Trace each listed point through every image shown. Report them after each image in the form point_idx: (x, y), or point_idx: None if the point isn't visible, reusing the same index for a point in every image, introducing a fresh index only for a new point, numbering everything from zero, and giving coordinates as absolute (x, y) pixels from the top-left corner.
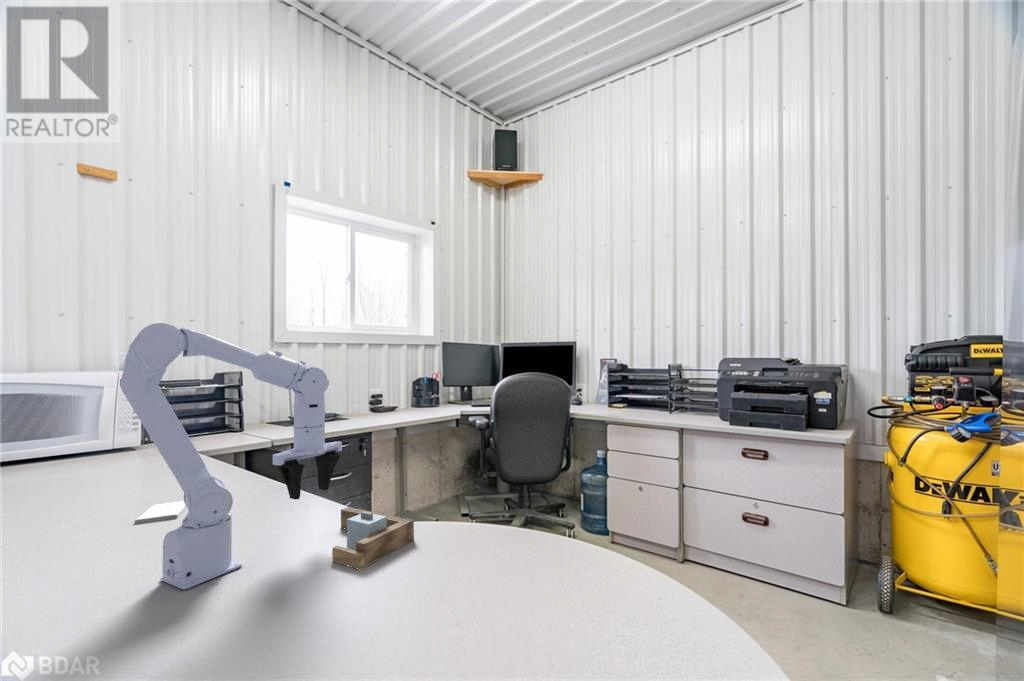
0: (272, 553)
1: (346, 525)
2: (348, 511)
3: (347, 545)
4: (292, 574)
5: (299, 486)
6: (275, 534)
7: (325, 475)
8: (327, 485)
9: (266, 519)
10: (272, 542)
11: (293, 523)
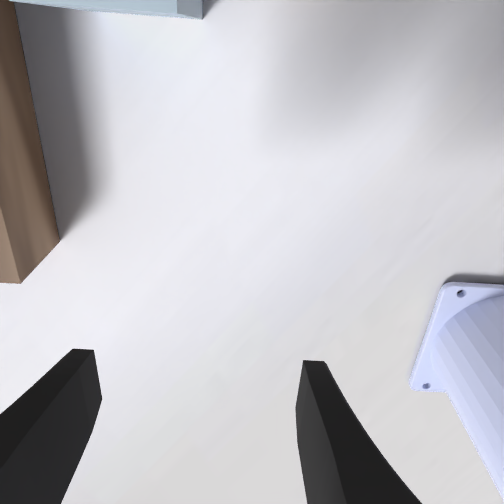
0: (332, 282)
1: (45, 218)
2: (7, 234)
3: (198, 14)
4: (463, 59)
5: (333, 422)
6: (217, 387)
7: (40, 450)
8: (69, 367)
9: (153, 483)
10: (266, 349)
11: (130, 408)
